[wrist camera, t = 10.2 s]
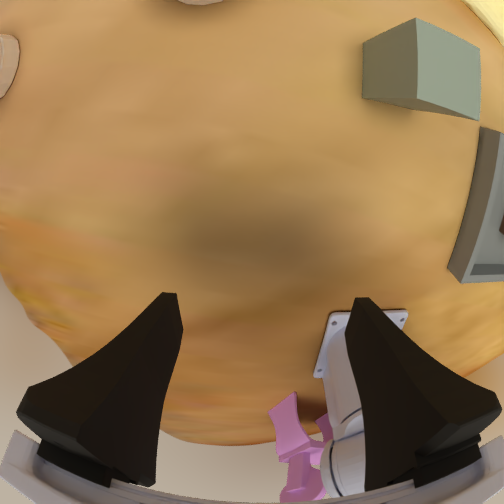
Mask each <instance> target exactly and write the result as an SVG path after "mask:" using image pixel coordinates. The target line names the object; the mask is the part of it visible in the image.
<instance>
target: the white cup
mask: <svg viewBox="0 0 504 504" xmlns="http://www.w3.org/2000/svg"><path fill="white" fill-rule="evenodd" d="M19 54H20V50H19V44H18V40H17V39H16V38H15V37H13V36H12V35H5V34H0V98H1V97H2V96H4V95H5V93H6V92H7V90H8V88H9V87H10V85H11V83H12V82H13V79H14V76H15V73H16V70H17V67H18V61H19Z"/></svg>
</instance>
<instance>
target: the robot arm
mask: <svg viewBox="0 0 504 504" xmlns="http://www.w3.org/2000/svg"><path fill="white" fill-rule="evenodd" d="M407 317H408V312H407V310H390V311H382V310H381V309H380V308H379V307H378V306H377V305H376V304H375V303H374V302H373V301H372V300H371V299H370V298H369V297H364V298H355V300H354V303H353V307H352V310H351V312H335V313H332V314H331V315H330V316H329V320H328V324H327V327H326V331H325V335H324V338H323V342H322V346H321V349H320V353H319V356H318V359H317V363H316V366H315V369H314V372H313V376H314V377H315V378H323V384H324V390H325V397H326V403H327V410H328V416H329V421H330V424H331V426H332V430H333V438H334V439H331V440H329V441H328V442H327V443H326V445H325V447H324V450H323V452H322V454H321V459H320V473H321V479H322V482H323V485H324V487H325V490H326V491H327V493H328V494H329V495H330V497H331V498H329V499H321V500H313V501H302V502H285V503H241V502H226V501H215V500H206V499H198V498H191V497H185V496H179V495H174V494H169V493H164V492H160V491H155V490H151V489H147V488H143V487H139V486H136V485H142V486H145V487H150V486H152V485H154V484H155V482H156V481H155V478H156V457H157V445H158V436H159V429H160V421H161V415H162V409H163V404H164V399H165V395H166V392H167V389H168V385H169V382H170V379H171V376H172V373H173V369H174V366H175V363H176V360H177V357H178V353H179V350H180V345H181V339H182V334H183V325H182V321H181V316H180V310H179V305H178V300H177V294H176V293H165V292H162V293H161V294H160V295H159V296H158V297H157V298H156V299H155V300H154V301H153V302H152V303H151V304H150V305H149V306H148V307H147V308H146V309H145V310H144V311H143V312H142V313H141V314H140V315H139V316H138V317H137V318H136V319H135V320H134V321H133V322H132V323H131V324H130V325H129V326H128V327H126V328H125V329H124V330H123V331H122V332H121V333H120V334H119V335H117V336H116V337H115V338H114V339H113V340H112V341H110V342H109V343H108V344H107V345H105V346H104V347H103V348H101V349H100V350H99V351H97V352H96V353H95V354H93V355H92V356H90V357H89V358H87V359H85V360H84V361H82V362H81V363H79V364H77V365H76V366H74V367H72V368H71V369H69V370H67V371H65V372H63V373H61V374H59V375H57V376H55V377H53V378H51V379H48V380H46V381H43V382H41V383H38V384H36V385H33V386H30V387H29V388H28V389H27V391H26V393H25V395H24V397H23V399H22V401H21V403H20V405H19V407H18V409H17V411H16V413H17V416H18V418H19V419H20V420H21V421H22V422H23V423H24V424H25V425H26V426H27V427H28V428H29V429H31V430H32V431H33V432H34V433H35V434H36V435H38V436H39V437H40V438H41V439H42V440H41V443H40V444H39V443H37V442H36V441H34V440H32V439H31V438H29V437H27V436H26V435H24V434H22V433H21V432H19V431H17V430H14V433H13V435H12V437H11V440H10V442H9V445H8V447H7V450H6V452H5V455H4V458H3V460H2V463H1V466H0V477H1V478H2V479H3V480H4V481H6V482H7V483H8V484H10V485H11V486H12V487H13V488H15V489H16V490H17V491H19V492H20V493H21V494H23V495H24V496H25V497H27V498H28V499H29V500H31V501H32V502H34V503H35V504H483V503H484V502H486V501H487V500H489V499H490V498H491V497H493V496H494V495H495V494H497V493H498V492H499V491H501V490H502V489H503V488H504V440H503V437H502V436H498V437H497V438H495V439H493V440H492V441H490V442H488V443H486V444H485V445H483V446H481V447H480V448H479V446H478V442H480V441H481V437H480V434H479V433H480V432H482V431H483V430H484V429H485V428H486V427H487V426H489V425H490V424H491V423H492V422H493V421H494V420H495V419H496V418H497V417H498V416H499V415H500V413H501V411H502V407H501V405H500V403H499V400H498V398H497V396H496V394H495V392H493V391H491V390H488V389H486V388H483V387H481V386H479V385H476V384H474V383H472V382H470V381H468V380H467V379H465V378H463V377H461V376H459V375H458V374H456V373H454V372H453V371H451V370H450V369H448V368H447V367H445V366H444V365H442V364H441V363H439V362H438V361H436V360H435V359H434V358H433V357H431V356H430V355H429V354H427V353H426V352H425V351H424V350H422V349H421V348H420V347H419V346H418V345H417V344H416V343H414V342H413V341H412V340H411V339H410V338H409V337H408V336H407V335H406V334H405V333H404V332H403V331H402V328H403V326H404V323H405V321H406V319H407ZM334 321H336V322H334ZM129 483H132V484H135V485H132V484H129Z"/></svg>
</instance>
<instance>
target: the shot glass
mask: <svg viewBox="0 0 504 504" xmlns="http://www.w3.org/2000/svg"><path fill="white" fill-rule="evenodd" d="M179 1H181V2H183V3H185V4H193V5H207V4H212V3H217V2H221V1H223V0H179Z"/></svg>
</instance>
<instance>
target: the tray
mask: <svg viewBox="0 0 504 504" xmlns="http://www.w3.org/2000/svg"><path fill="white" fill-rule="evenodd" d="M503 215H504V134H503V133H501V132H498V131H495V130H491V129H487V128H484V127H480V136H479V144H478V151H477V158H476V164H475V170H474V175H473V180H472V185H471V190H470V194H469V198H468V202H467V206H466V210H465V214H464V218H463V221H462V225H461V228H460V232H459V235H458V238H457V241H456V244H455V247H454V250H453V253H452V256H451V259H450V261H449V264H448V267H447V268H448V269H449V270H450V272H451V273H452V274H453V275H454V276H455V277H456V279H457V280H458V281H459V282H460V283H481V282H498V281H504V235H503V234H502V233H501V232H500V231H499V228H500V225H501V222H502V218H503Z"/></svg>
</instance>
